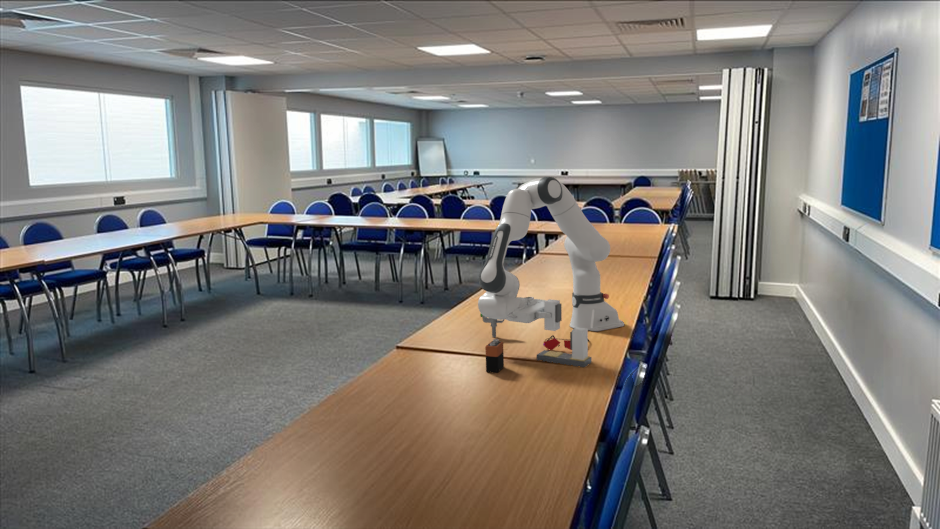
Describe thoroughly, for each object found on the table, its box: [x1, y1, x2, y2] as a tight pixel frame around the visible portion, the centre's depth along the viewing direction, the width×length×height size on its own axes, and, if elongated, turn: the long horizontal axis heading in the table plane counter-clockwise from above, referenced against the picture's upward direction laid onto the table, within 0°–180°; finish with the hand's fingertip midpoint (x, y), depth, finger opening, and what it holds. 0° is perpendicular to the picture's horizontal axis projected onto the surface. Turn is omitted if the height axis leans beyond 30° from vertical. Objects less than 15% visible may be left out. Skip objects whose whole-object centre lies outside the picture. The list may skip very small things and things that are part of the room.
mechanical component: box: [480, 313, 506, 339], centre depth 260 cm, size 3×10×10 cm, turn 79°
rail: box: [536, 349, 593, 368], centre depth 228 cm, size 18×6×2 cm, turn 57°
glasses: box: [542, 334, 590, 351], centre depth 246 cm, size 14×16×5 cm
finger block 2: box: [569, 327, 589, 360], centre depth 224 cm, size 5×4×10 cm
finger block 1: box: [543, 298, 563, 332], centre depth 227 cm, size 5×4×10 cm
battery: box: [484, 338, 505, 374], centre depth 221 cm, size 4×7×10 cm, turn 159°
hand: (554, 313), depth 227 cm, fingers closed on finger block 1, 4 cm apart
